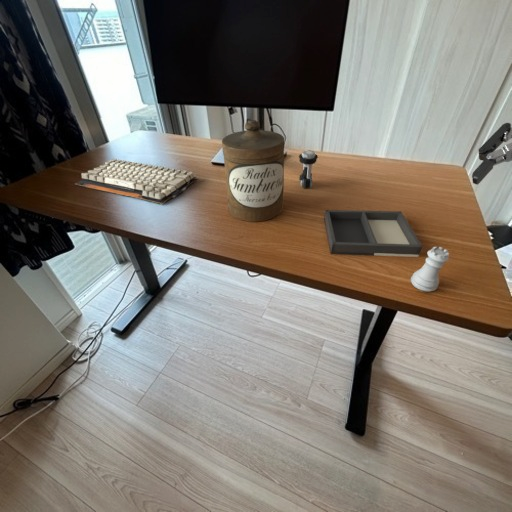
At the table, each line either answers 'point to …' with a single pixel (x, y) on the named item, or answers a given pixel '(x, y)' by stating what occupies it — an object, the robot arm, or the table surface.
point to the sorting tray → (370, 233)
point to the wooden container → (254, 172)
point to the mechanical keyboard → (137, 180)
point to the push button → (307, 167)
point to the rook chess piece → (430, 270)
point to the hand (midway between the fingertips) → (501, 191)
